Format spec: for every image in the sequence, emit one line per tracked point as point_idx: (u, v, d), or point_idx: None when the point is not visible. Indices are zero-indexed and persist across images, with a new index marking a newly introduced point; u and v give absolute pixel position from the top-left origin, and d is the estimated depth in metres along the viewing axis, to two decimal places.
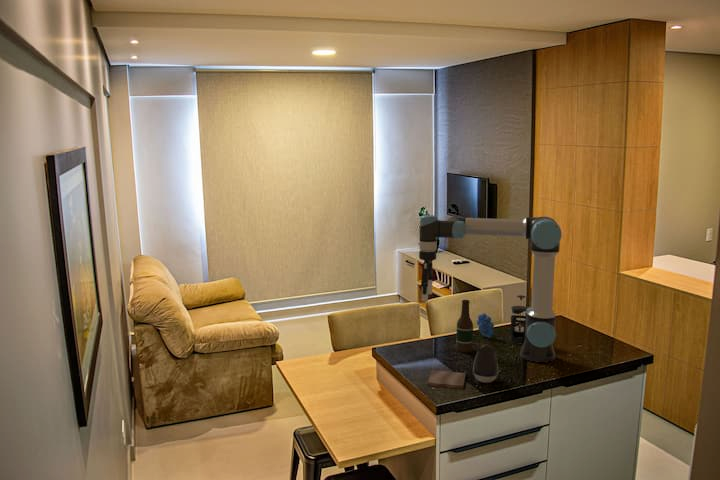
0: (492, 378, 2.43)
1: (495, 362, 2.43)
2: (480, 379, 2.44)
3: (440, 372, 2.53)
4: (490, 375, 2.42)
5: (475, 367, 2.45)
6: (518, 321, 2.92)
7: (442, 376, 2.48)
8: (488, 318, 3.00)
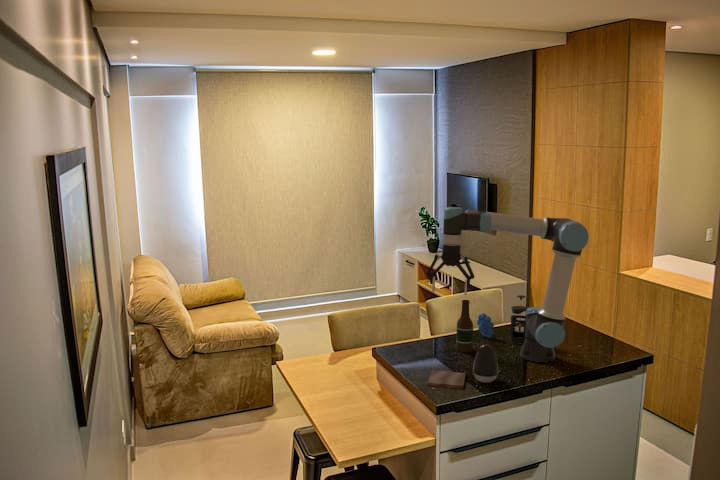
0: (492, 378, 2.43)
1: (495, 362, 2.43)
2: (480, 379, 2.44)
3: (440, 372, 2.53)
4: (490, 375, 2.42)
5: (475, 367, 2.45)
6: (518, 321, 2.92)
7: (442, 376, 2.48)
8: (488, 318, 3.00)
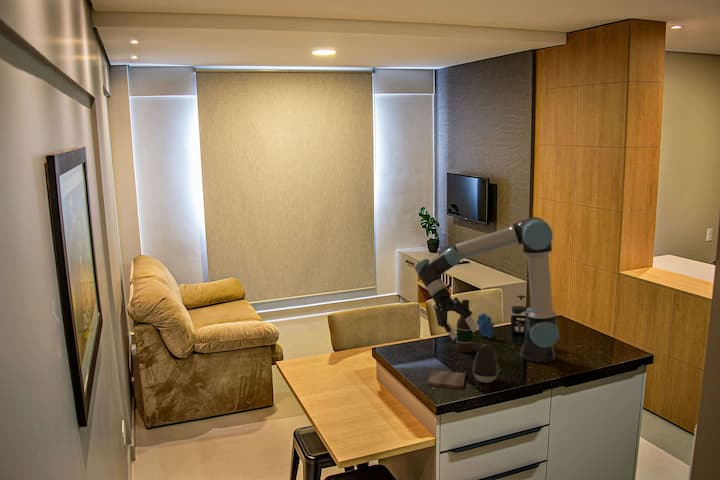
0: (492, 378, 2.43)
1: (495, 362, 2.43)
2: (480, 379, 2.44)
3: (440, 372, 2.53)
4: (490, 375, 2.42)
5: (475, 367, 2.45)
6: (518, 321, 2.92)
7: (442, 376, 2.48)
8: (488, 318, 3.00)
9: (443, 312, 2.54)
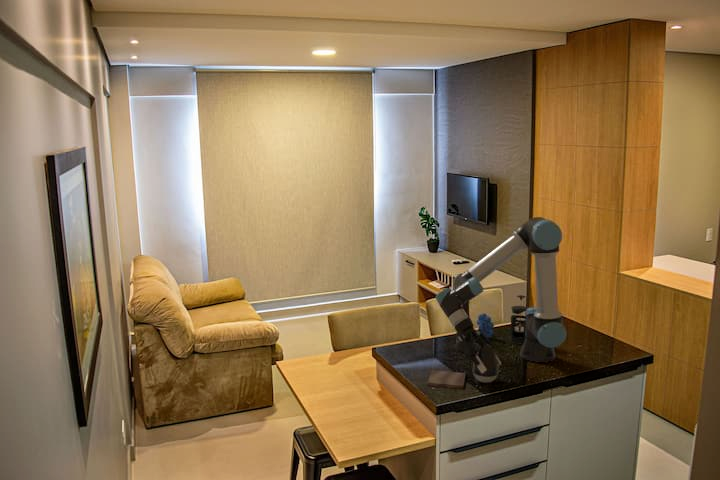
0: (492, 378, 2.43)
1: (495, 362, 2.43)
2: (480, 379, 2.44)
3: (440, 372, 2.53)
4: (490, 375, 2.42)
5: (475, 367, 2.44)
6: (518, 321, 2.92)
7: (442, 376, 2.48)
8: (488, 318, 3.00)
9: (468, 344, 2.47)
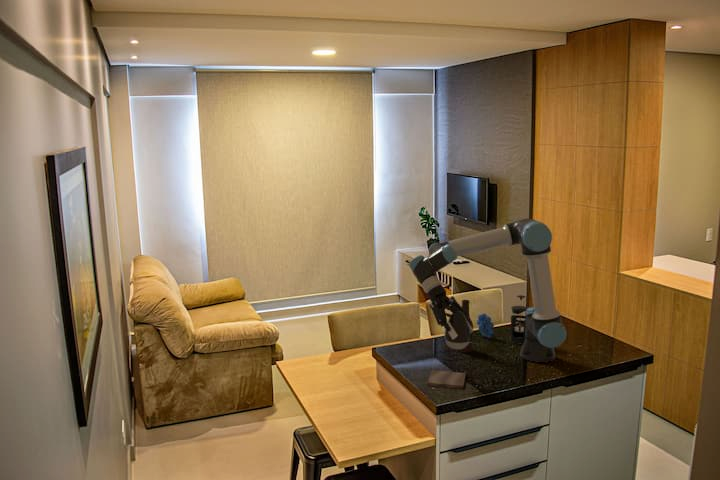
0: (463, 344, 2.41)
1: (466, 328, 2.41)
2: (451, 345, 2.41)
3: (440, 372, 2.53)
4: (461, 341, 2.39)
5: (446, 333, 2.42)
6: (518, 321, 2.92)
7: (442, 376, 2.48)
8: (488, 318, 3.00)
9: (440, 310, 2.44)
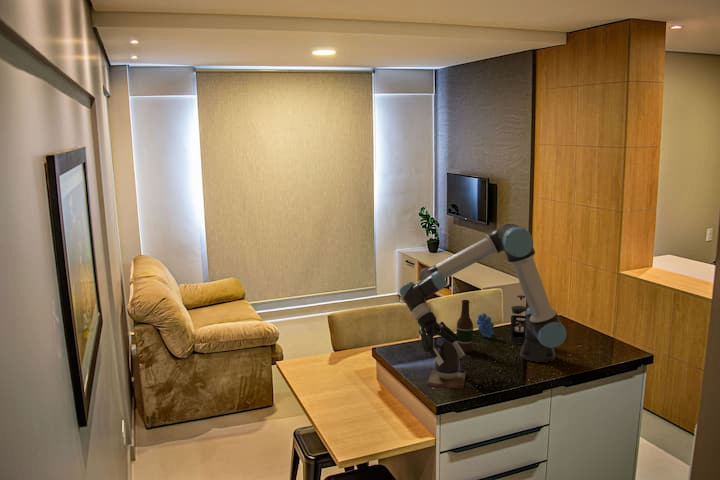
0: (453, 375, 2.43)
1: (456, 359, 2.43)
2: (442, 376, 2.43)
3: None
4: (451, 372, 2.41)
5: (436, 364, 2.44)
6: (518, 321, 2.92)
7: None
8: (488, 318, 3.00)
9: (429, 337, 2.46)
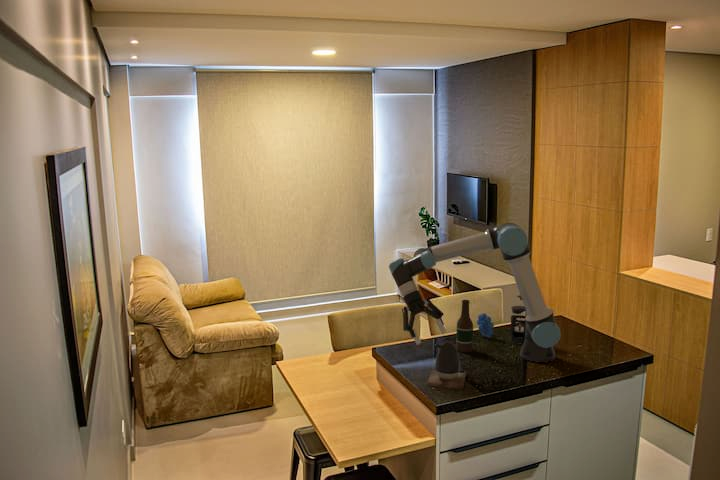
0: (454, 375, 2.43)
1: (457, 359, 2.43)
2: (442, 376, 2.43)
3: None
4: (451, 372, 2.41)
5: (437, 364, 2.44)
6: (518, 321, 2.92)
7: None
8: (488, 318, 3.00)
9: (411, 316, 2.56)
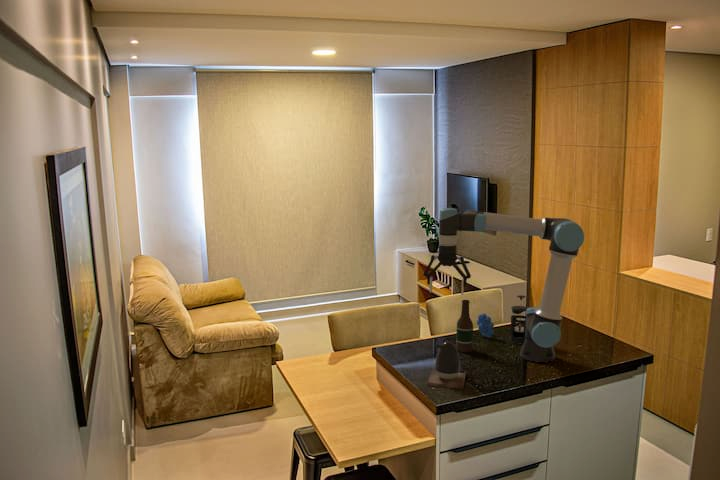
0: (454, 375, 2.43)
1: (457, 359, 2.43)
2: (442, 376, 2.43)
3: None
4: (451, 372, 2.41)
5: (437, 364, 2.44)
6: (518, 321, 2.92)
7: None
8: (488, 318, 3.00)
9: (436, 265, 2.61)
